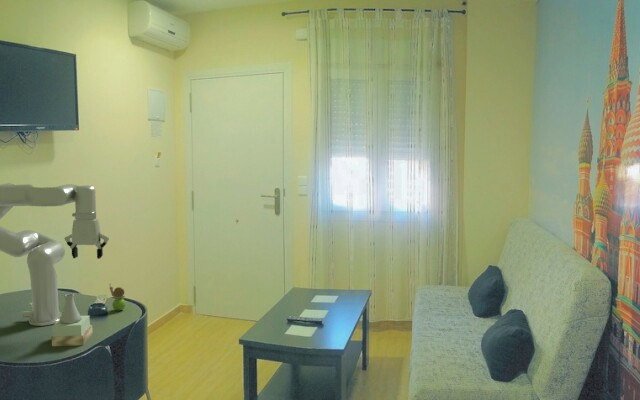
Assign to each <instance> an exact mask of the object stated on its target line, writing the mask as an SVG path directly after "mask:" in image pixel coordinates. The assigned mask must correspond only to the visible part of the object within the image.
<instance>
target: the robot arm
mask: <svg viewBox="0 0 640 400" xmlns="http://www.w3.org/2000/svg"><path fill="white" fill-rule="evenodd" d="M96 198H97V197H96V188H95V187H94V186H93V185H76V184H68V183H67V184H64V185H63V184H62V185H58V186H52V187H51V186H49V187H48V186H47V187H45V186H44V187H39V186H38V187H36V186H34V185H32V184H15V183H10V182H9V183H2V184H0V220H1V219H2V218H3V217H4V216H6V215H7V213H8V212H9V211H10V210H12V208H13V207H25V206H26V207H27V206H28V207H61V206H65V205H68V204H71V203H74V204H75V205H74V207H75V212H73V213H72V214H71V215H72V216H71V217H74V218H75V219H74V220H73V222H72V227H71V228H72V230H71V234H69V235H67V236H65V237H64V241H65V242H66V244H67V246H68V247H69V248H70V249H71V257H72V259H76V258H78V257H79V250H78V247H77V246H94V245H95V247H96V248H97V249H96V258H97V259H101V258H102V257H103V255H104V252H103V251H104V250H103V248H104V247H105V246H106V245H107V244H108V243H109V239H110V237H108V236H105V235H104V234H103V233H101V227H100V226H101V225H100V223H99V220H98V219H97V208H96V207H97V206H96V205H97V204H96V203H97V202H96ZM102 240H103V241H102ZM101 241H102V242H101ZM0 252H2V253H5V254H7V255H9V256H11V257H14V258H21V257H23V256H26V255H27V258H26V264H27V267H28V271H29V279H30V290H31V305H32V307H31V310H30V311H29V310H23V311H22V316H23V318H29V319H28V323H29V325H31V326H33V327H34V326H35V327H42V326H49V325H50V326H52V325H54V324H55V323H56V322H57V321H58V320H59V319H60V318H61V315H62V313H60V309H59V308H60V307H59V306H60V305H59V295H58V294H59V291H58V290H59V289H58V275H57V272H56V268H55V265H56V264H57V263H59V262H60V261H62V260H63V259H64V257H65V253H66V250H65V247H64V246H63V244H61V242H59V241H57V240H55V239H53V238H51V237H48V236H47V235H44V234H42V233H41V232H37V231H35V230H29V229H26V230H22V231H19V232H14V231H12V230H10V229H7V228H5V227H3V226H0Z"/></svg>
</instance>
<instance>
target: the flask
mask: <svg viewBox="0 0 640 400" xmlns="http://www.w3.org/2000/svg"><path fill="white" fill-rule="evenodd" d="M63 296H64V298H65V301H64V307H63V309H62V310H63V311H62V313H61V314H62V315H61V318H60V321H59V322H61V323H67V324H71V323H74V322H78V321H79V320H81V319H82V318H81V316H82V315H81V314H80V311H78V308H77V306H76V303H75V299H74V297H75V294H74V293H68V294H65V295H63Z"/></svg>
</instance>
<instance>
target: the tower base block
mask: <svg viewBox="0 0 640 400" xmlns="http://www.w3.org/2000/svg"><path fill="white" fill-rule="evenodd" d="M93 333H94V331H93V324H90V326H89V327H88V328H87V329H86V331H85V332H84V333H83V334H82V336H57V337H53V335H52V336H51V347H67V346H84V345H85V344H86V342H87V341H89V339H90V338H91V336H92V335H94V334H93Z"/></svg>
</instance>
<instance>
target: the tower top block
mask: <svg viewBox="0 0 640 400" xmlns="http://www.w3.org/2000/svg"><path fill="white" fill-rule="evenodd" d="M80 316H81V318H82V319H81V320H79V321H78V322H74V323H71V324H67V323H61V322H59V321H60V319H59V320H58V321H57V322H56V323H54V324H52V325H51V330H52V336H53V337H57V336H82V334H83V333H84V332H85V331H86V329H87V328H88V327H89V326H90V325H91V323H90V322H91V321H90V315H80Z"/></svg>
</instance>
